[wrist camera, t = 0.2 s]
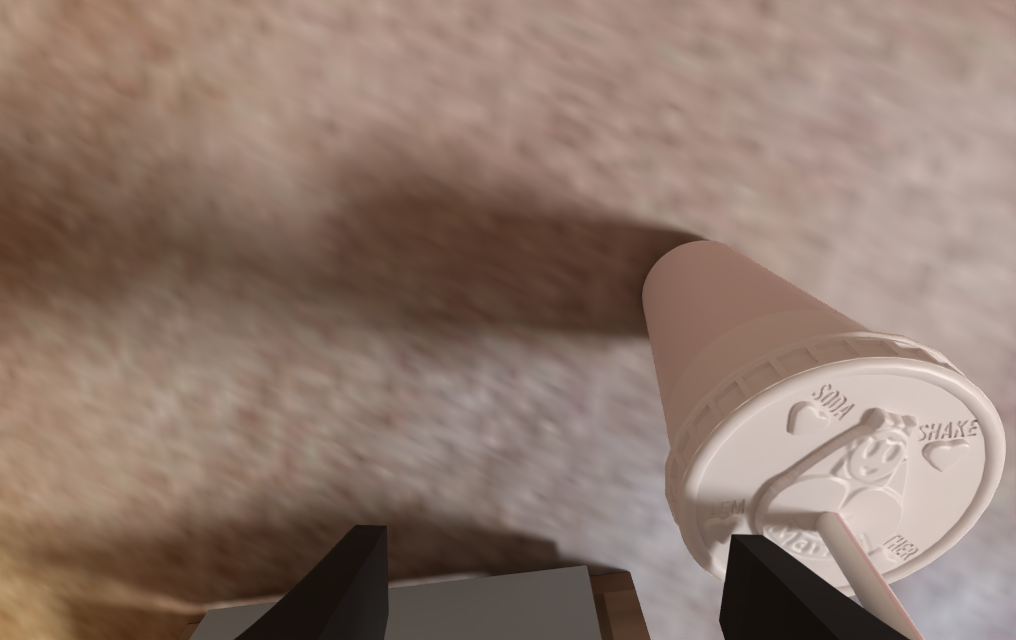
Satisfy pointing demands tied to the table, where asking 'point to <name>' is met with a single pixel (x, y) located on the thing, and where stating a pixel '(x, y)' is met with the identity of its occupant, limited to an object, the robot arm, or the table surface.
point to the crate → (612, 602)
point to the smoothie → (811, 429)
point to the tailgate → (464, 610)
